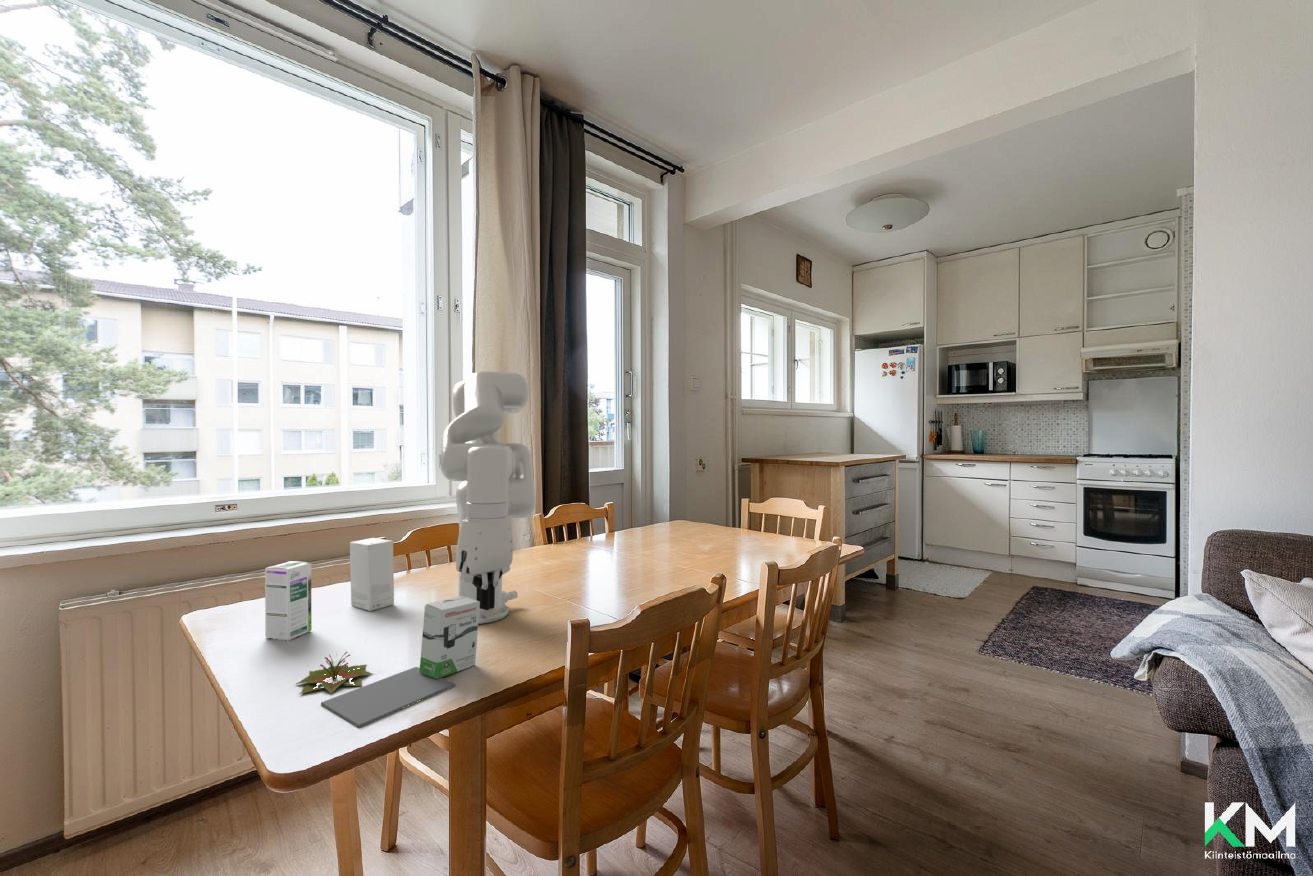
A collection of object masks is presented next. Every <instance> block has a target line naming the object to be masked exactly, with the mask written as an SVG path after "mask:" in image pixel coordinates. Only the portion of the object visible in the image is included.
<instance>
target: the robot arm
mask: <svg viewBox="0 0 1313 876" xmlns="http://www.w3.org/2000/svg"><path fill="white" fill-rule="evenodd" d="M529 393H530V392H529V385H528V382H527V379H526V378H525V377H524V376H523V375H522V374H520V373H518V372H504V371H492V370H491V371H489V370H488V371H487V370H483V371H476V372H473V373H471V374H470V375H469V376H468V377H467V378H466V379H464V380H462V381H459V382H457V383H456V384H454V388H453V390H452V404H453V405H452V407H453V411H454V415H455V416H454V417H455V418H454V419H453V420H452V421H451V422H450V423H449V424H448V425H447V426H446V428H445V429H444V432H443V434H442V438H441V442H440V443H441V445H440V447H441V448H440V460H439V461H440V470H441V473H442V476H443V477H445V478H446V479H447V480H449V481H453V482H460V483H459V485H458V486H457V488H456V492H455V499H456V500H455V501H456V509H457V515H458V516H457V517H458V526H459V529H458V530H459V531H458V538H457V544H456V545H457V546H456V556H455V557H456V559H455V566H456V567H455V568H456V571H457V572H458V597H459V596H464V597H467V598H470V599H473V600H476V601H479V602H480V608H479V621H478V625H480V624H488V623H492V622H496V621H500V620H502V619H504V618H506V617H507V616H508V615H509V611H510V610H509V607H508V605H506V603H507V602H508V601H511V600H514V599H517V598H518V596H519V594H518V591H517V590H511V591H508V592H506V591H505V590H503V575H505V574H507V573H509V572H510V570H511V565H512V563H513V558H514V556H513V555H514V554H513V553H514V552H513V551H514V540H513V531H512V522H511V520H512V519H525V518H528V517H530V516H532V514H533V513H534V511H535V508H536V507H535V506H536V489H535V480H534V471H533V462H532V457H531V451H530V450H529V449H528V447H527V446H526V445H525V444H523V443H518V442H500V440H499V439H500V438H499V437H500V435H499V430H500V429H501V427H502V426H503V425H504V423H505V414H519V413H520V412H521V411H522V410H523V409H525V408H526V406H527V403H528V401H529ZM507 614H508V615H507ZM506 615H507V616H506ZM505 616H506V617H505ZM499 619H500V620H499Z"/></svg>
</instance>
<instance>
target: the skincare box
mask: <svg viewBox="0 0 1313 876" xmlns="http://www.w3.org/2000/svg"><path fill="white" fill-rule="evenodd" d="M349 564H350V606H351V605H352V607H354V608H355V607H356V608H359V609H362V610H365V611H368V612H371V611H376V610H380V609H383V608H386V607H390V606H393V605H394V604H395V586H394V585H395V583H394V582H395V579H394V575H395V574H394V540H390V539H389V540H388V539H382V538H379V537H371V538H365V539H360V540H354V541H350V542H349Z"/></svg>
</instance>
